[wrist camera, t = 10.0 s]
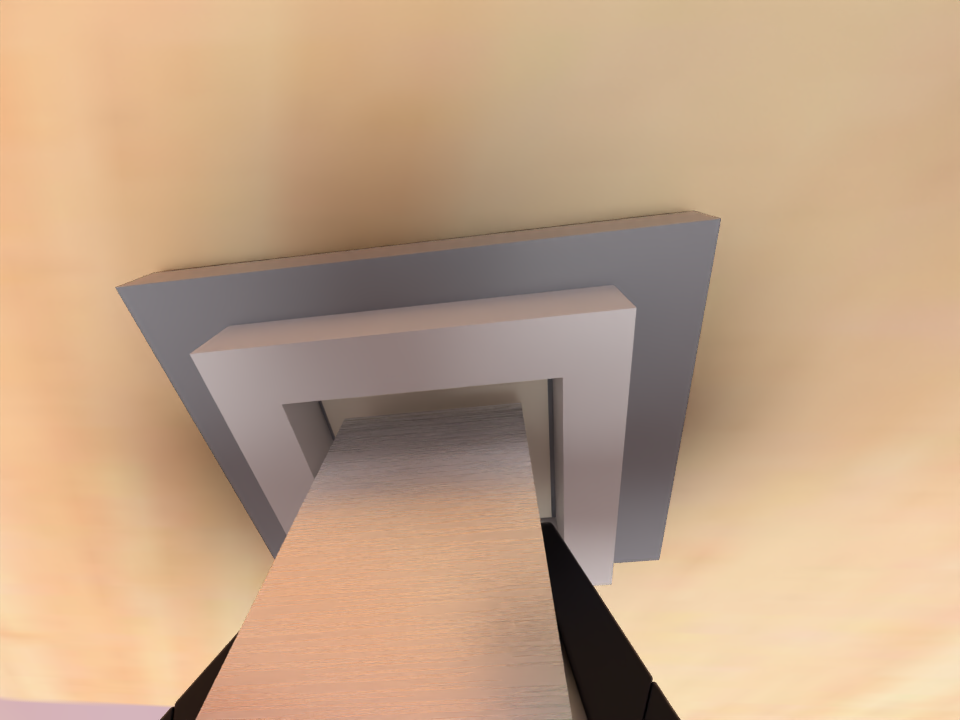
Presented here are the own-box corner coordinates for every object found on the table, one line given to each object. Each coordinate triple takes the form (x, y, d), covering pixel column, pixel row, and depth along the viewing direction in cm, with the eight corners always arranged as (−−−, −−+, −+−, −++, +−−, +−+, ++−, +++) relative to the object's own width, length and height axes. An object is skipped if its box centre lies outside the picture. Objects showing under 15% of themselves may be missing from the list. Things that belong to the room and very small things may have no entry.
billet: (520, 402, 10) (630, 1089, 3) (530, 522, 12) (603, 1074, 5) (344, 418, 10) (12, 1086, 3) (384, 533, 12) (253, 1072, 5)
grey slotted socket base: (694, 210, 10) (765, 231, 7) (646, 531, 15) (677, 601, 13) (152, 272, 10) (54, 311, 8) (302, 557, 16) (272, 628, 14)
